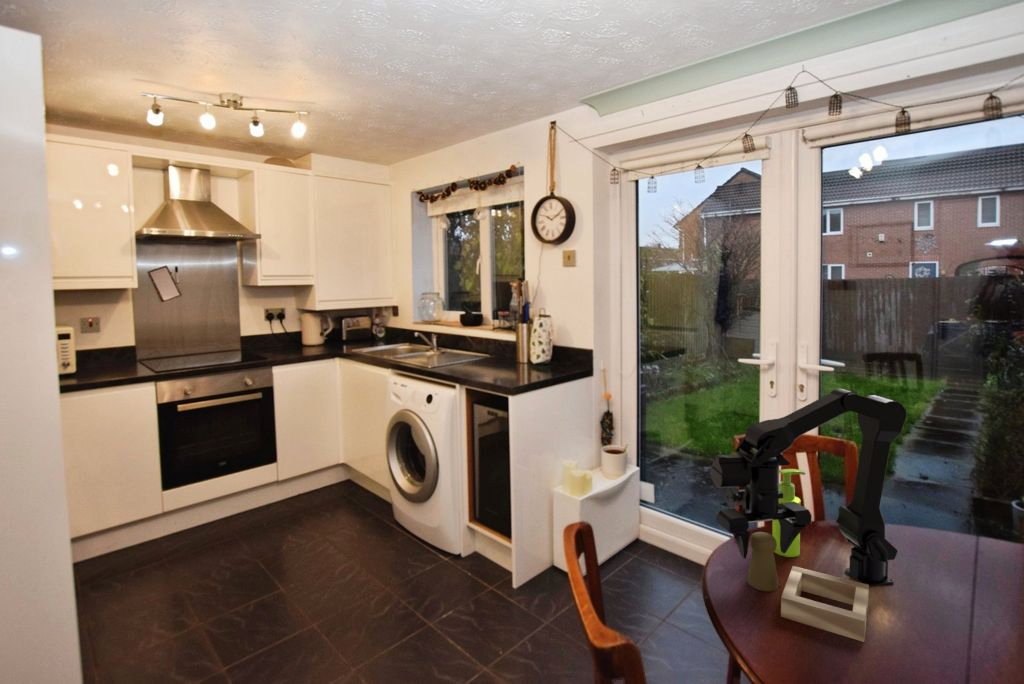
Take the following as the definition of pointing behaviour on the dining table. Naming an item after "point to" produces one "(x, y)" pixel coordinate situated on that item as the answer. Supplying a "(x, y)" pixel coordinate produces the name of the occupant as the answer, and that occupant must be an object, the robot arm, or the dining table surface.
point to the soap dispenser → (788, 496)
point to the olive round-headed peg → (763, 562)
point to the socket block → (824, 614)
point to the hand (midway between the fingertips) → (763, 554)
